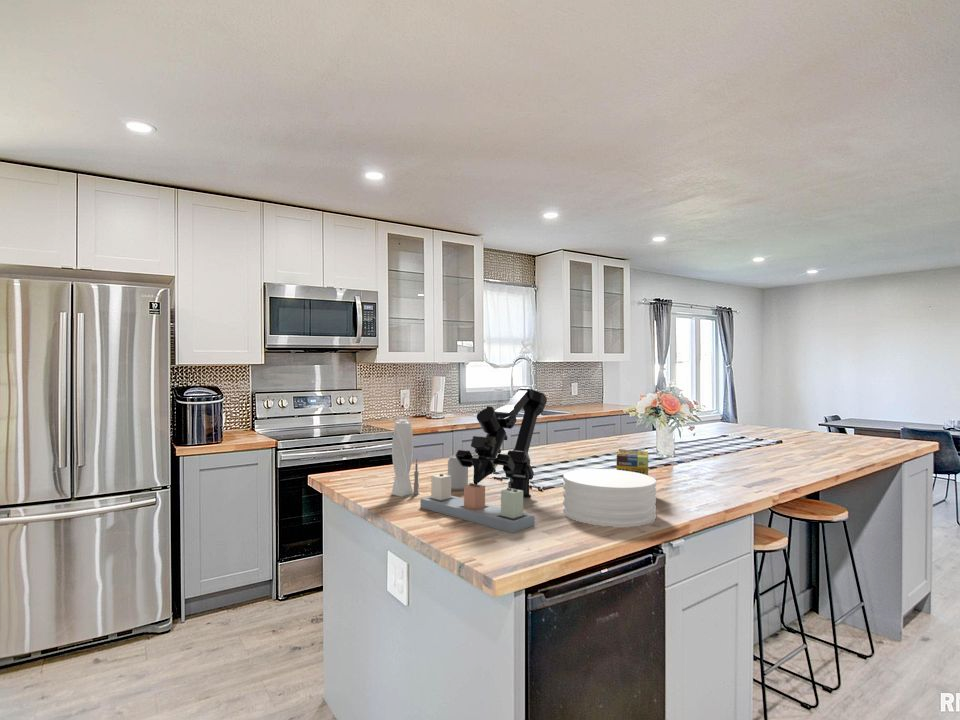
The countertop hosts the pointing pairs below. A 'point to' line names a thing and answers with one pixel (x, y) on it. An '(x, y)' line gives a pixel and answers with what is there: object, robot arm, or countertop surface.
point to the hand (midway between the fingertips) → (474, 483)
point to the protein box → (632, 461)
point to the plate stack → (609, 497)
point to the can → (457, 474)
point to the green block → (511, 503)
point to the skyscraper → (403, 459)
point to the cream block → (441, 486)
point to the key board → (478, 514)
